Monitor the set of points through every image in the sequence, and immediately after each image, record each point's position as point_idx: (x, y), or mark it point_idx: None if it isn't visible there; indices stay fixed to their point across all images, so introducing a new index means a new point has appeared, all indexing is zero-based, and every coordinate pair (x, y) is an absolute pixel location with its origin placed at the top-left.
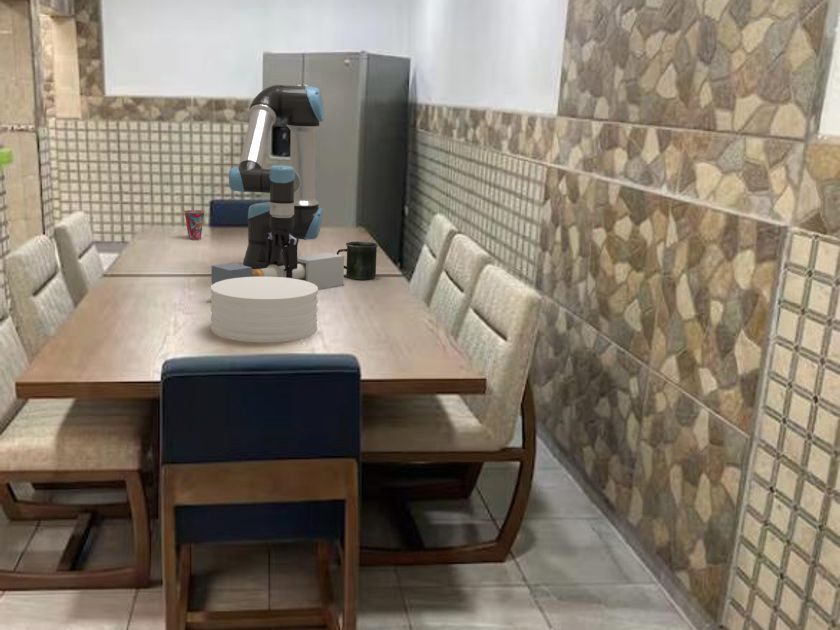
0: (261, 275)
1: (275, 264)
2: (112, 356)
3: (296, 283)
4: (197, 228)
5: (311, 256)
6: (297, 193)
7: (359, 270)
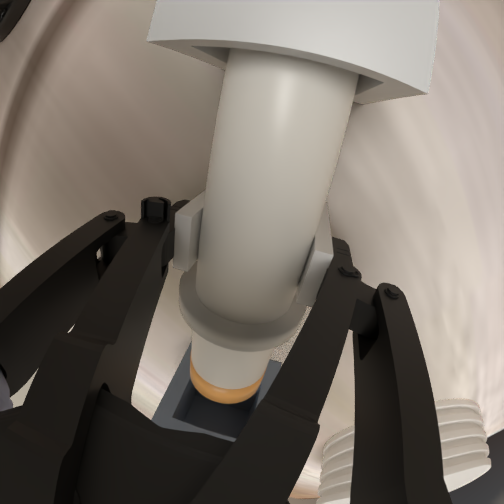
0: (257, 388)
1: (165, 245)
2: (305, 488)
3: (456, 479)
4: None
5: None
6: None
7: None
